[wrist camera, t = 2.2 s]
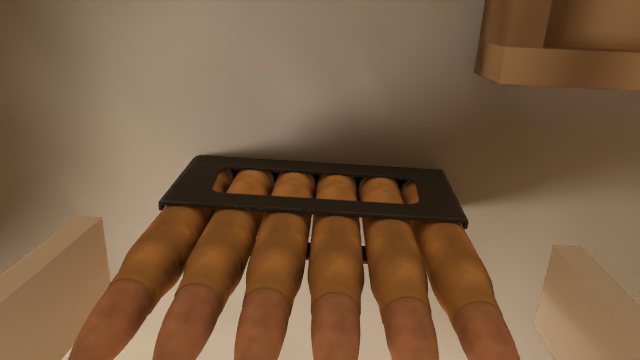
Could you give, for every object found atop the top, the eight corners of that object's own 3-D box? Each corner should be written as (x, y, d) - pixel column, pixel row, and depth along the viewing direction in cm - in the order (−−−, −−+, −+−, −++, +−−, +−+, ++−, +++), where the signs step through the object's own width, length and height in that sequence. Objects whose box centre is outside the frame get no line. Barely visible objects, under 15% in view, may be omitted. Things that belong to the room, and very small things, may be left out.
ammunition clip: (196, 194, 21) (28, 418, 9) (194, 154, 20) (12, 343, 9) (437, 209, 21) (558, 454, 9) (443, 169, 20) (580, 381, 9)
